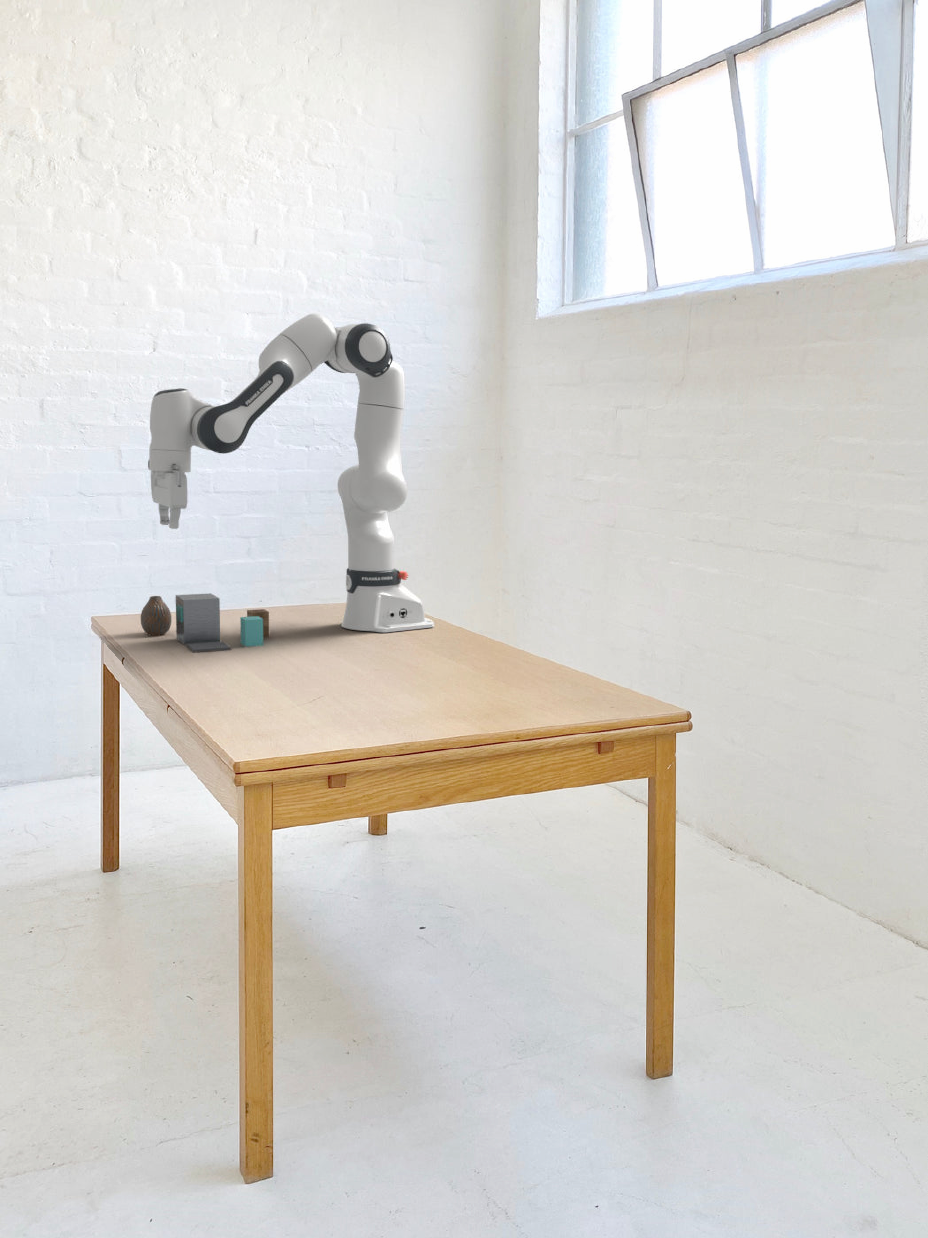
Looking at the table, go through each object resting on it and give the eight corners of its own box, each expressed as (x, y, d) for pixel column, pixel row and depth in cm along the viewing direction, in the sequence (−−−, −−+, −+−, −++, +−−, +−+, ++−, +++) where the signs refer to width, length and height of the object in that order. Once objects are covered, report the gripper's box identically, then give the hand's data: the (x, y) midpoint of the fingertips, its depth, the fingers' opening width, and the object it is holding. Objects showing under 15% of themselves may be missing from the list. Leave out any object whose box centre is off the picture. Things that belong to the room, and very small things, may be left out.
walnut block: (264, 634, 278) (263, 609, 277) (269, 637, 275) (268, 611, 274) (247, 635, 277) (247, 610, 276) (252, 638, 273) (251, 612, 272)
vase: (167, 637, 273) (166, 599, 272) (137, 636, 273) (136, 598, 272) (175, 631, 280) (174, 594, 278) (145, 631, 280) (144, 594, 278)
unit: (212, 636, 275) (211, 593, 273) (221, 642, 267) (220, 598, 266) (175, 638, 271) (174, 595, 269) (183, 645, 264) (182, 600, 262)
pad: (222, 644, 266) (222, 641, 266) (230, 649, 259) (230, 647, 259) (186, 646, 262) (186, 643, 262) (193, 652, 256) (193, 649, 256)
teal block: (258, 642, 269) (257, 616, 268) (263, 645, 265) (262, 618, 264) (240, 643, 267) (240, 617, 266) (245, 646, 263) (245, 620, 262)
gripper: (195, 465, 253) (194, 531, 255) (174, 462, 272) (173, 522, 274) (165, 464, 251) (164, 530, 253) (146, 461, 269) (145, 522, 271)
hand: (169, 526), depth 263 cm, fingers open, 8 cm apart
